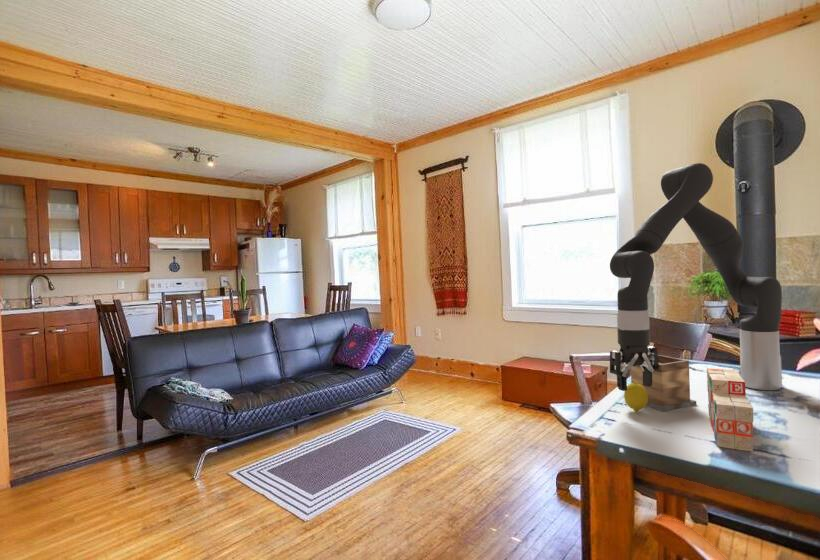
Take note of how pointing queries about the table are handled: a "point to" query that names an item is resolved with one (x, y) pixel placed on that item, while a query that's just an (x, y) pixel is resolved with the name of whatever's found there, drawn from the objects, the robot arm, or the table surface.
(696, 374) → the table surface
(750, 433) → the stack of blocks
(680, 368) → the open wooden crate
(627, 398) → the lemon
